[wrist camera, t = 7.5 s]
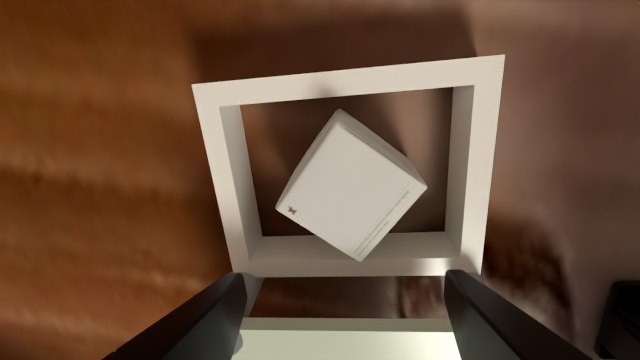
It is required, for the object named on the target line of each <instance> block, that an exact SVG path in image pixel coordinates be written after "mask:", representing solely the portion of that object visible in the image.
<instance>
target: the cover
mask: <svg viewBox="0 0 640 360" xmlns="http://www.w3.org/2000/svg"><path fill="white" fill-rule="evenodd" d="M231 360H461V357H460V354H459V351H458V347H457V344H456V340H455V336H454V333H453V329H452V326H451V322H450V319H383V318H243V320H242V323H241V327H240V331H239V335H238V339H237V342H236V346H235V350H234V353H233V356H232V359H231Z"/></svg>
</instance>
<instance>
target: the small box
mask: <svg viewBox="0 0 640 360" xmlns="http://www.w3.org/2000/svg"><path fill="white" fill-rule="evenodd" d="M426 189H427V185H426V184H425V182H424V180H423V179H422V177H421V176H420V175H419V173H418V172H417V170H416V169H415V167H414V166H413V165H412V163H411V162H410V160H409V159H408V158H407V157H406V156H404V155H403V154H402V153H400V152H399V151H398V150H396V149H395V148H394V147H392V146H391V145H390V144H388V143H387V142H386V141H384V140H383V139H382V138H380V137H379V136H378V135H376V134H375V133H374V132H372V131H371V130H370V129H368V128H367V127H366V126H364V125H363V124H362V123H360V122H359V121H358V120H356V119H355V118H354V117H352V116H351V115H349V114H348V113H347V112H345V111H344V110H342V109H337V110H336V111H335V112H334V114H333V115H332V116H331V118H330V119H329V120H328V122H327V123H326V125H325V126H324V127H323V129H322V130H321V131H320V133H319V134H318V136H317V137H316V139H315V140H314V142H313V143H312V144H311V146H310V147H309V149H308V150H307V152H306V153H305V155H304V156H303V158H302V159H301V161H300V163H299V164H298V166H297V167H296V169H295V170H294V172H293V174H292V175H291V177H290V179H289V181H288V183H287V185H286V187H285V189H284V191H283V193H282V194H281V196H280V198H279V200H278V202H277V204H276V207H275V208H276V210H277V211H279V212H280V213H282V214H284V215H285V216H287V217H288V218H290V219H292V220H293V221H295V222H296V223H298V224H300V225H301V226H303V227H304V228H306V229H308V230H309V231H311V232H312V233H314V234H316V235H317V236H319V237H320V238H322V239H323V240H325V241H327V242H328V243H330V244H331V245H333V246H334V247H336V248H338V249H339V250H341V251H342V252H344V253H345V254H347V255H349V256H350V257H352V258H354V259H355V260H357V261H358V262H361V261H362V260H363V259H364V258H365V257H366V256H367V255H368V254H369V253H370V252H371V251H372V249H373V248H374V247H375V246H376V245H377V244H378V243H379V242H380V240H381V239H382V238H383V237H384V236H385V235H386V234H387V233H388V232H389V230H390V229H391V228H392V227H393V226H394V225H395V224H396V223H397V221H398V220H399V219H400V218H401V217H402V216H403V215H404V213H405V212H406V211H407V210H408V209H409V208H410V207H411V206H412V204H413V203H414V202H415V201H416V200H417V199H418V198H419V197H420V195H421V194H422V193H423V192H424V191H425V190H426Z"/></svg>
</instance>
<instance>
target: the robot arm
mask: <svg viewBox="0 0 640 360" xmlns="http://www.w3.org/2000/svg"><path fill="white" fill-rule="evenodd" d="M444 300H445V304H446V308H447V311H448V315H449V319H450V322H451V326H452V329H453V333H454V336H455V340H456V344H457V347H458V351H459V354H460V357H461V360H593V359H592V358H591V357H589V356H588V355H586V354H585V353H584V352H582V351H581V350H579V349H578V348H576V347H575V346H573V345H572V344H570V343H569V342H567V341H566V340H564V339H563V338H562V337H560V336H559V335H557V334H556V333H554V332H553V331H551V330H550V329H548V328H547V327H545V326H544V325H543V324H541V323H540V322H538V321H537V320H535V319H534V318H532V317H531V316H529V315H528V314H526V313H525V312H524V311H522V310H521V309H519V308H518V307H516V306H515V305H513V304H512V303H510V302H509V301H507V300H506V299H504V298H503V297H502V296H500V295H499V294H497V293H496V292H494V291H493V290H491V289H490V288H488V287H487V286H485V285H484V284H483V283H481V282H480V281H478V280H477V279H475V278H474V277H472V276H471V275H469V274H468V273H466V272H465V271H463V270H461V269H449V270H447V271H446V273H445V284H444ZM246 304H247V290H246V286H245V281H244V277H243V274H242V273H240V272H231V273H227V274H226V275H224V276H223V277H221V278H220V279H218V280H217V281H215V282H214V283H213V284H211V285H210V286H208V287H207V288H205V289H204V290H202V291H201V292H199V293H198V294H197V295H195V296H194V297H192V298H191V299H189V300H188V301H186V302H185V303H183V304H182V305H180V306H179V307H178V308H176V309H175V310H173V311H172V312H170V313H169V314H167V315H166V316H164V317H163V318H161V319H160V320H159V321H157V322H156V323H154V324H153V325H151V326H150V327H148V328H147V329H145V330H144V331H142V332H141V333H140V334H138V335H137V336H135V337H134V338H132V339H131V340H129V341H128V342H126V343H125V344H123V345H122V346H121V347H119V348H118V349H116V351H115V352H112V353H110V354H109V355H107V356H106V357H104V358H103V359H102V360H231V359H232V356H233V353H234V350H235V346H236V342H237V339H238V335H239V331H240V327H241V323H242V320H243V316H244V312H245V308H246ZM594 351H595V353H596V354H597V355H598V356H599V357H600V358H601V359H617V360H640V281H621V282H618V283H616V284H615V285H614V286H613V287H612V291H611V294H610V297H609V301H608V304H607V308H606V311H605V314H604V318H603V321H602V324H601V328H600V331H599V335H598V338H597V341H596V345H595V348H594Z"/></svg>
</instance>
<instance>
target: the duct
mask: <svg viewBox="0 0 640 360" xmlns="http://www.w3.org/2000/svg"><path fill="white" fill-rule="evenodd" d="M504 60H505V55H495V56H484V57H474V58H463V59H453V60H442V61H432V62H421V63H411V64H400V65H390V66H379V67H369V68H358V69H348V70H337V71H327V72H316V73H306V74H295V75H285V76H274V77H264V78H253V79H243V80H232V81H222V82H211V83H201V84H192V89H193V93H194V98H195V102H196V107H197V111H198V116H199V120H200V125H201V129H202V134H203V138H204V143H205V147H206V152H207V156H208V161H209V165H210V170H211V174H212V179H213V183H214V188H215V192H216V197H217V201H218V206H219V210H220V215H221V219H222V224H223V228H224V233H225V237H226V242H227V246H228V251H229V255H230V260H231V264H232V269H233V272H240V273H242V274H243V277H244V281H245V286H246V290H247V304H246V308H245V312H244V316H243V318H248V317H249V314H250V312H251V310H252V307H253V305H254V303H255V300H256V298H257V295H258V293H259V291H260V288H261V286H262V283H263V281H264V279H265V277H342V276H435V275H445V273H446V271H447V270H449V269H461V270H463V271H465V272H466V273H468V274H469V275H471V276H472V277H474V278H475V279H477V280H478V281H480V282H481V283H483V284H484V285H485V286H487V285H486V284H485V282H484V280H483V279H482V277H481V276H480V275H481V266H482V257H483V248H484V239H485V230H486V221H487V212H488V203H489V194H490V185H491V176H492V167H493V158H494V149H495V141H496V132H497V123H498V114H499V105H500V96H501V87H502V78H503V69H504ZM443 87H453V100H452V117H451V134H450V150H449V167H448V184H447V200H446V217H445V232H412V233H387V234H386V235H385V236H384V237H383V238H382V239H381V240H380V242H379V243H378V244H377V245H376V246H375V247H374V248H373V249H372V251H371V252H370V253H369V254H368V255H367V256H366V257H365V258H364V259H363V260H362V261H361V262H358V261H357V260H355V259H354V258H352V257H350V256H349V255H347V254H345V253H344V252H342V251H341V250H339V249H338V248H336V247H334V246H333V245H331V244H330V243H328V242H327V241H325V240H323V239H322V238H320V237H319V236H317V235H304V236H269V237H263V236H262V230H261V224H260V219H259V213H258V207H257V201H256V196H255V190H254V184H253V178H252V173H251V167H250V161H249V155H248V150H247V144H246V138H245V133H244V127H243V121H242V115H241V110H240V105H242V104H254V103H266V102H278V101H290V100H301V99H313V98H325V97H337V96H349V95H361V94H372V93H384V92H396V91H408V90H420V89H432V88H443Z"/></svg>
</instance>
